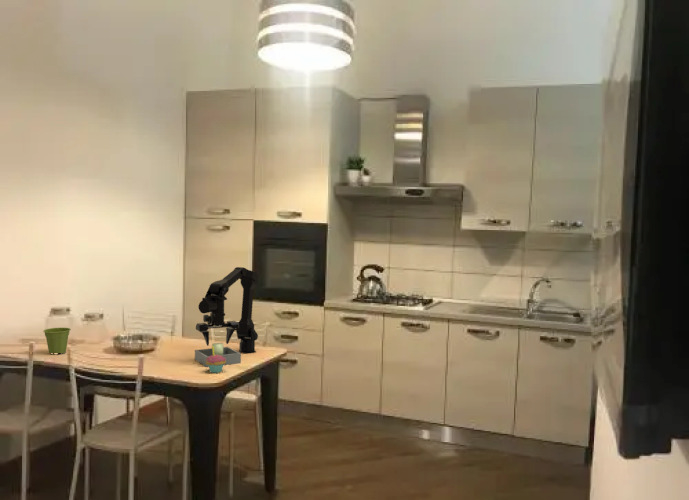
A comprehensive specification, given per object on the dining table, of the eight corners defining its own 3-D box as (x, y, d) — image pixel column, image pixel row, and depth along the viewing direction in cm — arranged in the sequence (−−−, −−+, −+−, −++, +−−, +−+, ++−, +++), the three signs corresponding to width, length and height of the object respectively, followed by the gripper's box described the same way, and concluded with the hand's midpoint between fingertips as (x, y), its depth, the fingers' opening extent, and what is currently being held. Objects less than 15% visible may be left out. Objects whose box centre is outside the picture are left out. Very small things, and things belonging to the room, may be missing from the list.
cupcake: (215, 374, 260) (216, 346, 259) (201, 371, 264) (201, 343, 264) (230, 370, 267) (230, 343, 267) (215, 368, 272) (215, 340, 271)
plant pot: (45, 351, 299) (45, 327, 298) (72, 350, 302) (72, 327, 301) (41, 356, 287) (40, 332, 287) (68, 355, 291) (68, 331, 290)
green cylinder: (220, 357, 287) (221, 342, 287) (224, 359, 283) (224, 344, 283) (210, 358, 285) (210, 343, 284) (214, 360, 280) (214, 345, 280)
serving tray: (227, 356, 295) (228, 346, 295) (240, 363, 281) (240, 353, 281) (194, 359, 287) (194, 350, 286) (206, 367, 273) (206, 356, 273)
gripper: (230, 307, 294) (230, 339, 295) (192, 309, 285) (191, 343, 285) (239, 310, 285) (239, 344, 286) (199, 312, 275) (199, 347, 276)
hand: (217, 344), depth 283 cm, fingers open, 9 cm apart
